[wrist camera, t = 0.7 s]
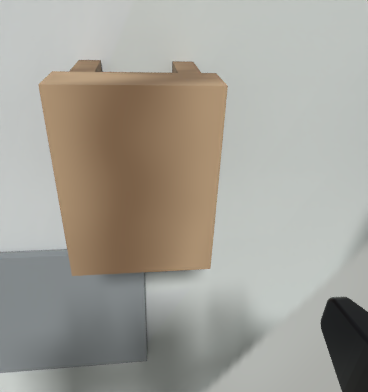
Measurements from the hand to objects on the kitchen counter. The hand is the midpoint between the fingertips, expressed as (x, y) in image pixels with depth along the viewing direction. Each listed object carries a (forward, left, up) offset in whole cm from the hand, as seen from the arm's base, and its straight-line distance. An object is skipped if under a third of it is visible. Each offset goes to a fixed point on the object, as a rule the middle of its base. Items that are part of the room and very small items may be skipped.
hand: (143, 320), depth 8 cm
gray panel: (+6, +13, -12) cm, 19 cm away
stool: (0, 0, -12) cm, 12 cm away
